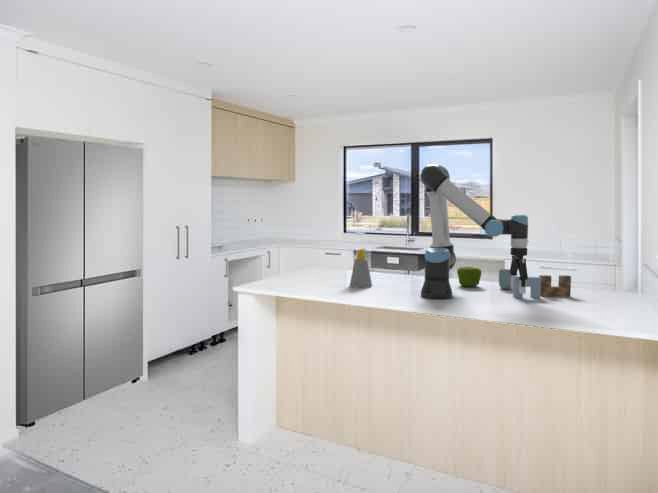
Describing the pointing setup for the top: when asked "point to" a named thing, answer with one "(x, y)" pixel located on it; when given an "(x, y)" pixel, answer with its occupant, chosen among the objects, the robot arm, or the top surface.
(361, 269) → the soap bottle
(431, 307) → the top surface
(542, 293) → the brown u-shaped block
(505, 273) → the cup
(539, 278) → the grey tunnel block
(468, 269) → the green rounded piece
